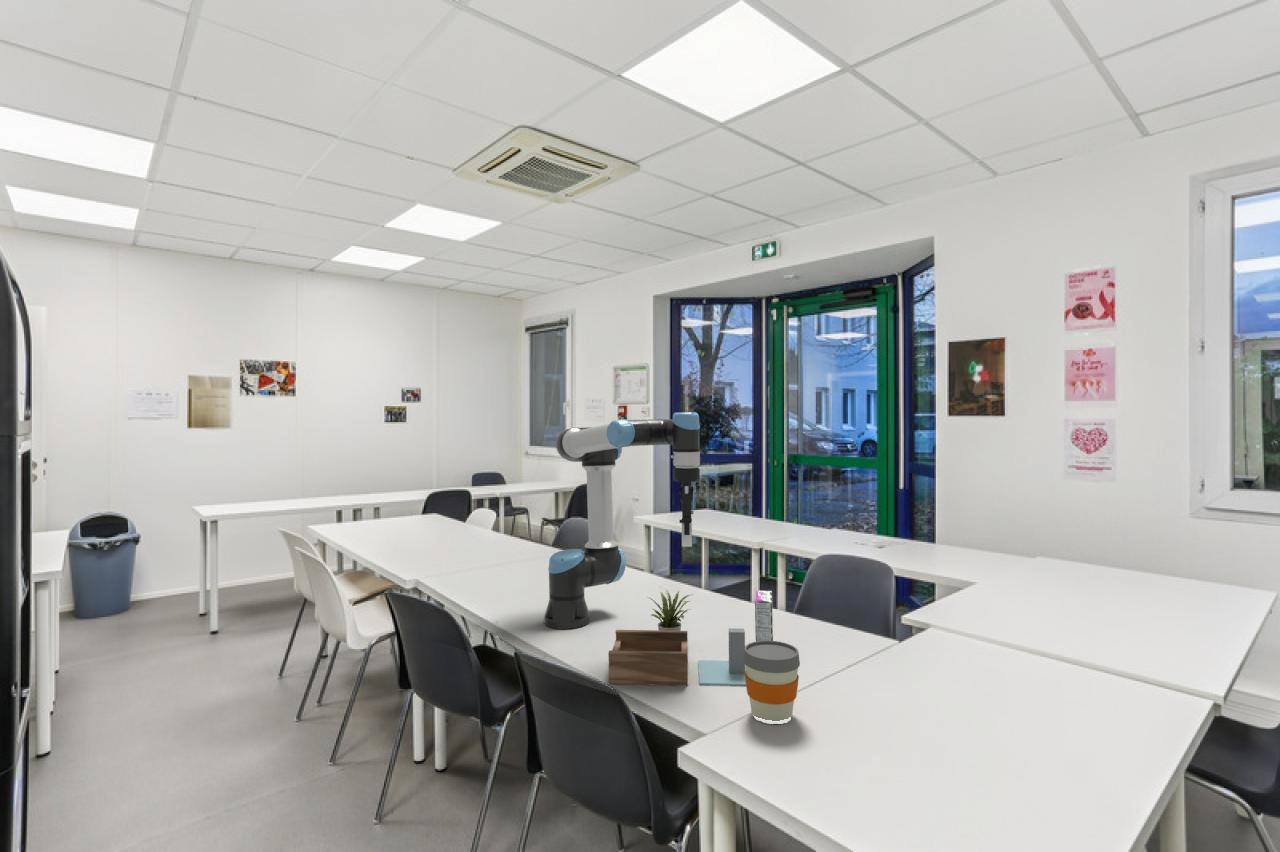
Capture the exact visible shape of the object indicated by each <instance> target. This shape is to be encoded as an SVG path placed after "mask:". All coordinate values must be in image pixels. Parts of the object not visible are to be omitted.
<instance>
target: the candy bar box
mask: <svg viewBox="0 0 1280 852" xmlns="http://www.w3.org/2000/svg"><path fill="white" fill-rule="evenodd" d="M773 615H774V613H773V591H772V590H756V591H755V599H754V619H755V620H754V621H755V622H754V623H755V626H754V627H755V642H756V641H774V627H773V626H774V625H773V623H774V622H773V621H774V618H773Z"/></svg>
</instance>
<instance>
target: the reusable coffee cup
mask: <svg viewBox="0 0 1280 852" xmlns="http://www.w3.org/2000/svg"><path fill="white" fill-rule="evenodd" d="M743 661H744V663H745V667H746V671H745V680H746V686H745V687H746V693H747V695H748V697H749V702H750V712H751V715H752V714H753V715H754V716H756V717H758V718H762V719H765V720H772V721H780V720H784V719H788V718H789V717H791V716H792V717H793V711H794V704H795V700H796V699H797V695H798V686H799V677H800V676H799V674H798V672H799V671H798V670H799V667H800V665H801V663H800V654H799V649H798V648H797V647H796V646H794V645H793V644H790V643H787V642H782V641H776V640H773V641H756V640H755V641H753V642H750V643H747V644H745V649H744V659H743Z"/></svg>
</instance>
